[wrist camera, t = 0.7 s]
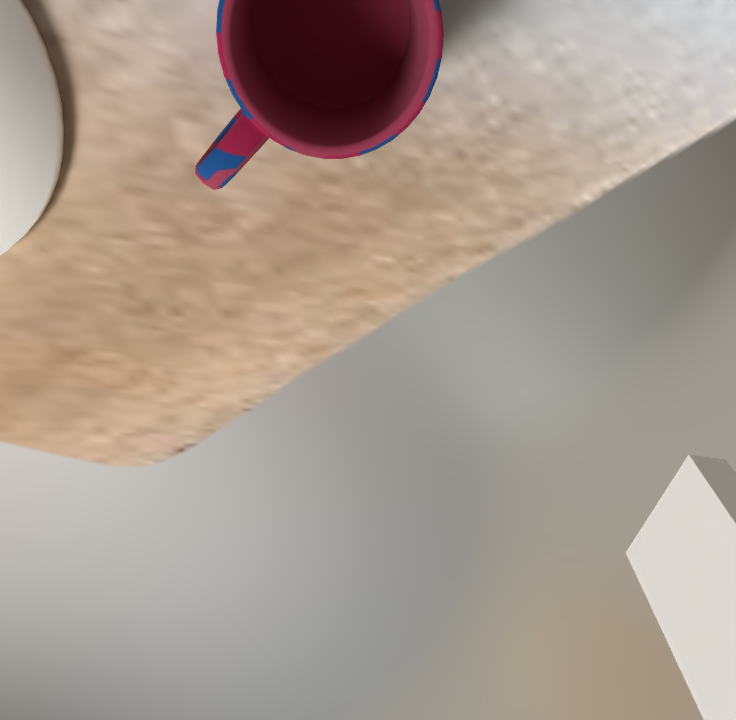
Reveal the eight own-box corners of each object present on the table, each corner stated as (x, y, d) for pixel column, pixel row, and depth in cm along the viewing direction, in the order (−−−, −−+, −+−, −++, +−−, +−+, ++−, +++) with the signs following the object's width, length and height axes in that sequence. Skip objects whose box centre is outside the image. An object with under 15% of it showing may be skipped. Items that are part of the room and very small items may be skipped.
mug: (451, 40, 25) (486, 66, 19) (263, 195, 28) (244, 257, 22) (345, -130, 22) (348, -159, 16) (147, 64, 25) (91, 97, 19)
